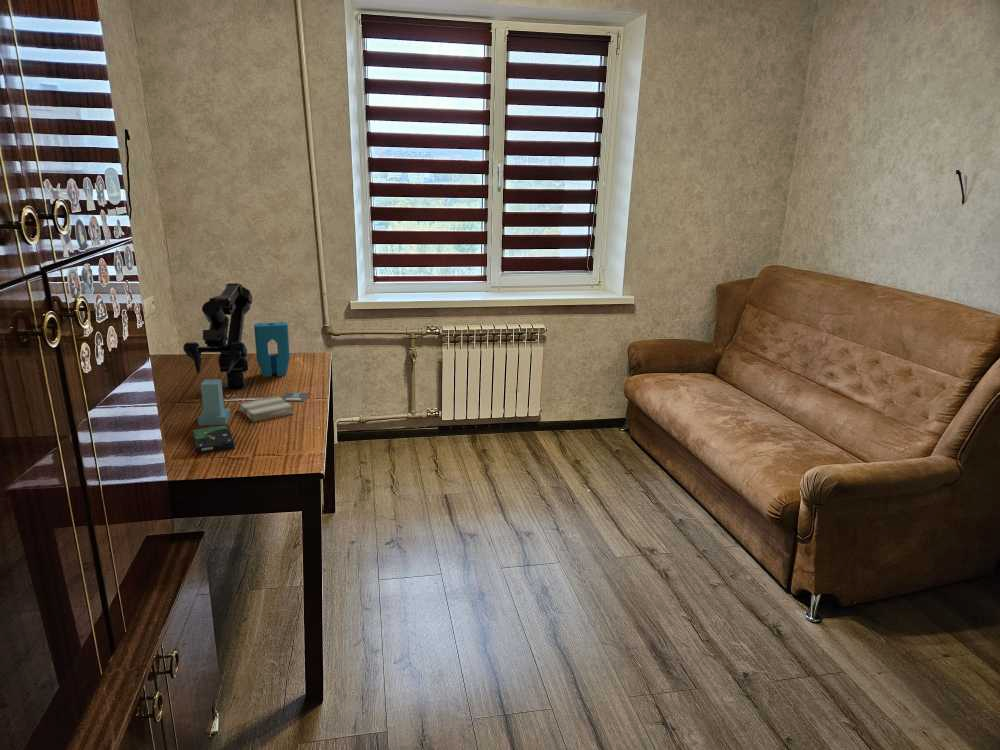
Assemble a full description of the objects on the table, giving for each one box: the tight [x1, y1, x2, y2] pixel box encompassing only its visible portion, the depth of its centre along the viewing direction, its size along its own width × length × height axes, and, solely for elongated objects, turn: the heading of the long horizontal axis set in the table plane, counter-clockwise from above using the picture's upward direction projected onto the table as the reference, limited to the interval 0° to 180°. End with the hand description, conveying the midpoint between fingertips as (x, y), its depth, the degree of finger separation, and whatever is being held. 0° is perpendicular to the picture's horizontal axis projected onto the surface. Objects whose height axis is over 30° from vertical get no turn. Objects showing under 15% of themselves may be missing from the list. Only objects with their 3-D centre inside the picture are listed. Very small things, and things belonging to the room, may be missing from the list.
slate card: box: [281, 392, 310, 403], centre depth 234 cm, size 8×8×1 cm
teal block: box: [197, 378, 232, 426], centre depth 210 cm, size 8×8×13 cm
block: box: [253, 321, 291, 378], centre depth 255 cm, size 12×5×20 cm, turn 109°
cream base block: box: [239, 395, 294, 423], centre depth 220 cm, size 13×13×3 cm
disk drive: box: [191, 423, 235, 455], centre depth 196 cm, size 10×3×15 cm
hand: (212, 372), depth 214 cm, fingers open, 9 cm apart
